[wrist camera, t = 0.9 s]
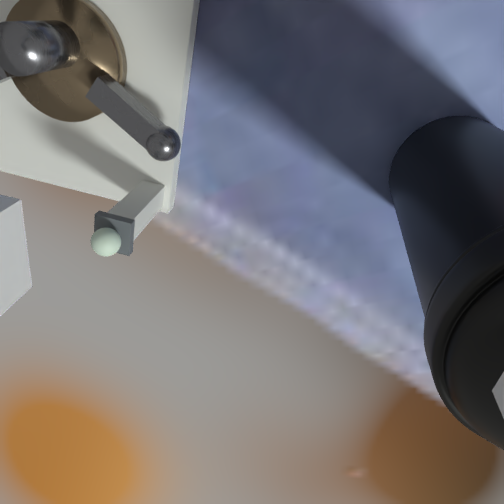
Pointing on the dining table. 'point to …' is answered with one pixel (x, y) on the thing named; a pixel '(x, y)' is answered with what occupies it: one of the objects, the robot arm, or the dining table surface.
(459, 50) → the dining table surface
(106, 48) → the capstan
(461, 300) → the water bottle
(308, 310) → the dining table surface
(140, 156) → the stand base
